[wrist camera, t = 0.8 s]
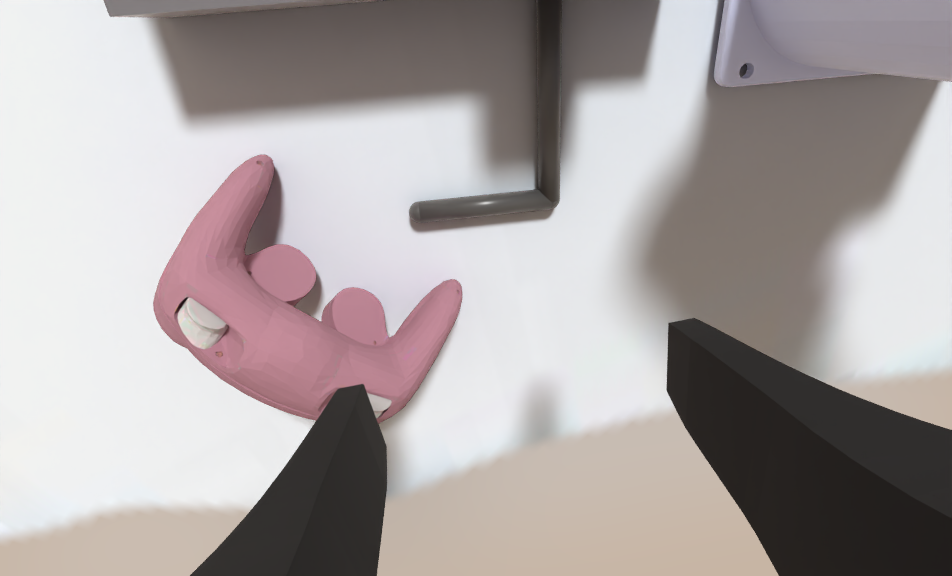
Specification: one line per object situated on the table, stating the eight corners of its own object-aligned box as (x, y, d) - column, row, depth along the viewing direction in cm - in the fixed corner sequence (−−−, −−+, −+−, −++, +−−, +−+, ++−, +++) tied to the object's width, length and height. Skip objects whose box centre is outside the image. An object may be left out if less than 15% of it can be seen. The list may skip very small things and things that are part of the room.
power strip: (686, -233, 14) (870, -408, 8) (645, 195, 20) (734, 263, 14) (95, -199, 13) (-155, -371, 7) (238, 237, 19) (162, 328, 13)
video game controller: (220, 204, 20) (102, 347, 15) (254, 131, 17) (120, 283, 12) (420, 323, 23) (373, 467, 19) (478, 282, 20) (438, 441, 16)
